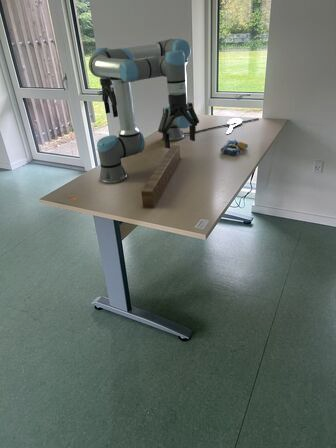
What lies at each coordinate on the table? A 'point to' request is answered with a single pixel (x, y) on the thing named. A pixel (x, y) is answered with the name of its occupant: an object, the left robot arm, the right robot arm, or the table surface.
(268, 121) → the table surface
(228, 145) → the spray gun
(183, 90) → the left robot arm
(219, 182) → the table surface
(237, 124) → the spoon
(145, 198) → the bar
